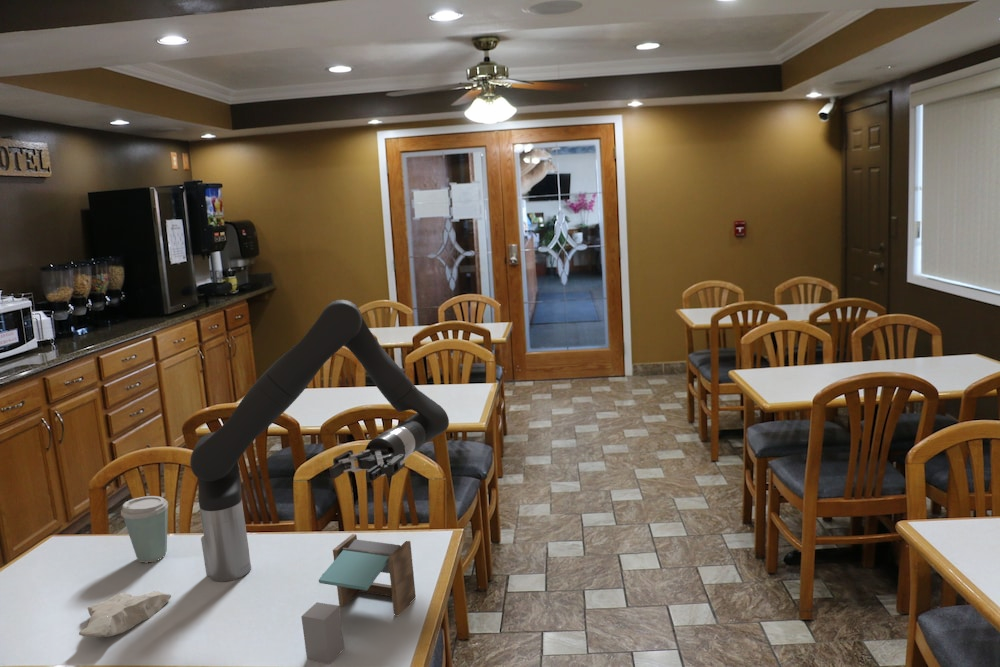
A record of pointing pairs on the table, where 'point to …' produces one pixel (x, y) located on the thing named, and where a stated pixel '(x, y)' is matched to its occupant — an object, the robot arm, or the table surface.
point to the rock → (122, 613)
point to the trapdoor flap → (359, 565)
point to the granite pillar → (322, 632)
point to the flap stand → (399, 576)
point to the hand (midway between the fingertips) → (349, 475)
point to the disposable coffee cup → (147, 526)
